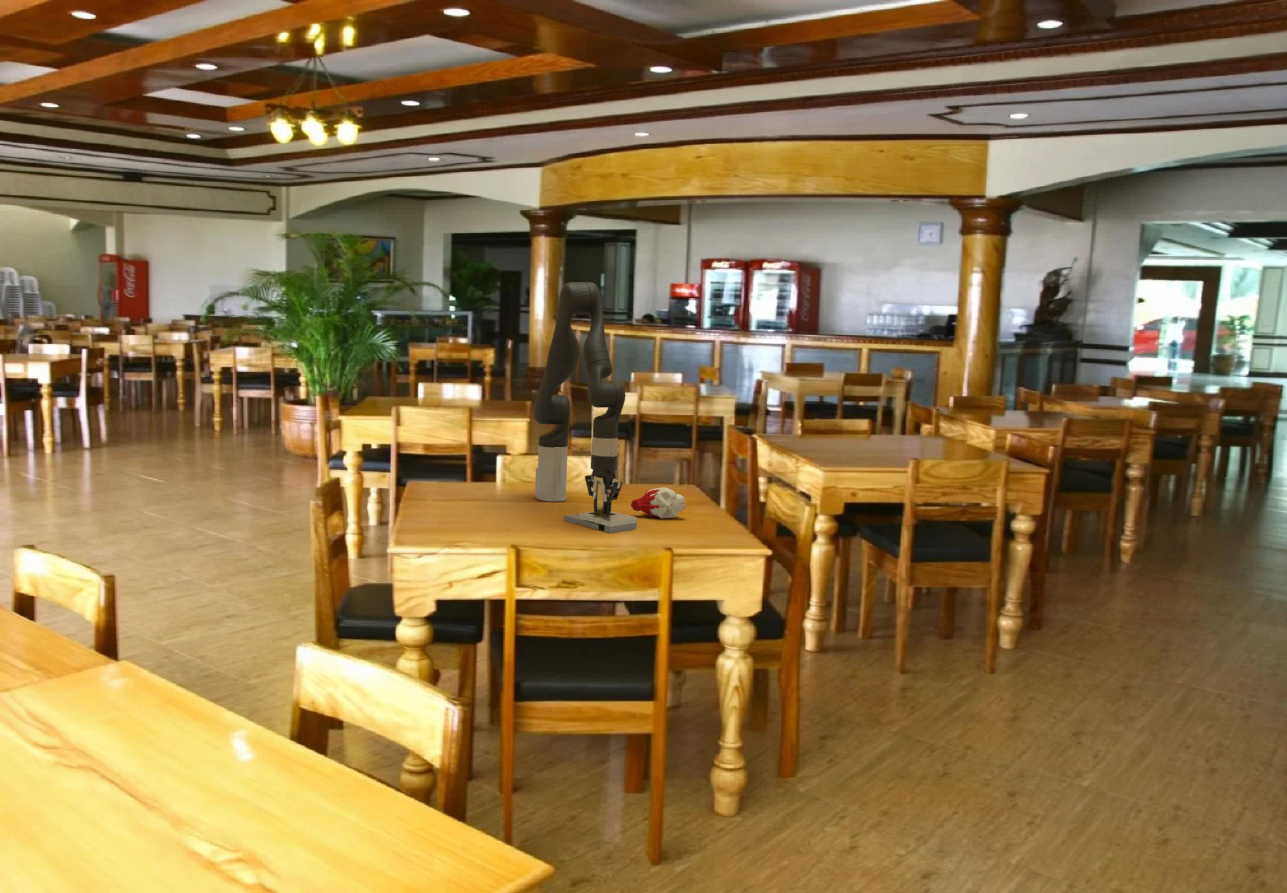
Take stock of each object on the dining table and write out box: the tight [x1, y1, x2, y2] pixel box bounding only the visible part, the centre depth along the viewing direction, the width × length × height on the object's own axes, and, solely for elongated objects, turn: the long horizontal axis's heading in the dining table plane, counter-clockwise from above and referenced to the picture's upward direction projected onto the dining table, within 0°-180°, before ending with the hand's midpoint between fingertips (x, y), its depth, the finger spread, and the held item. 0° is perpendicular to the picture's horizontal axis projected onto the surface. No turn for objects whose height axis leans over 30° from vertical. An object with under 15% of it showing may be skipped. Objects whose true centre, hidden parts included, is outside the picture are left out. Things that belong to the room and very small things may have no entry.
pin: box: [596, 477, 609, 517], centre depth 305 cm, size 4×4×13 cm
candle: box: [630, 487, 687, 519], centre depth 321 cm, size 9×11×15 cm
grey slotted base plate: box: [563, 510, 638, 534], centre depth 307 cm, size 20×10×3 cm, turn 45°
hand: (602, 512), depth 306 cm, fingers closed on pin, 3 cm apart
